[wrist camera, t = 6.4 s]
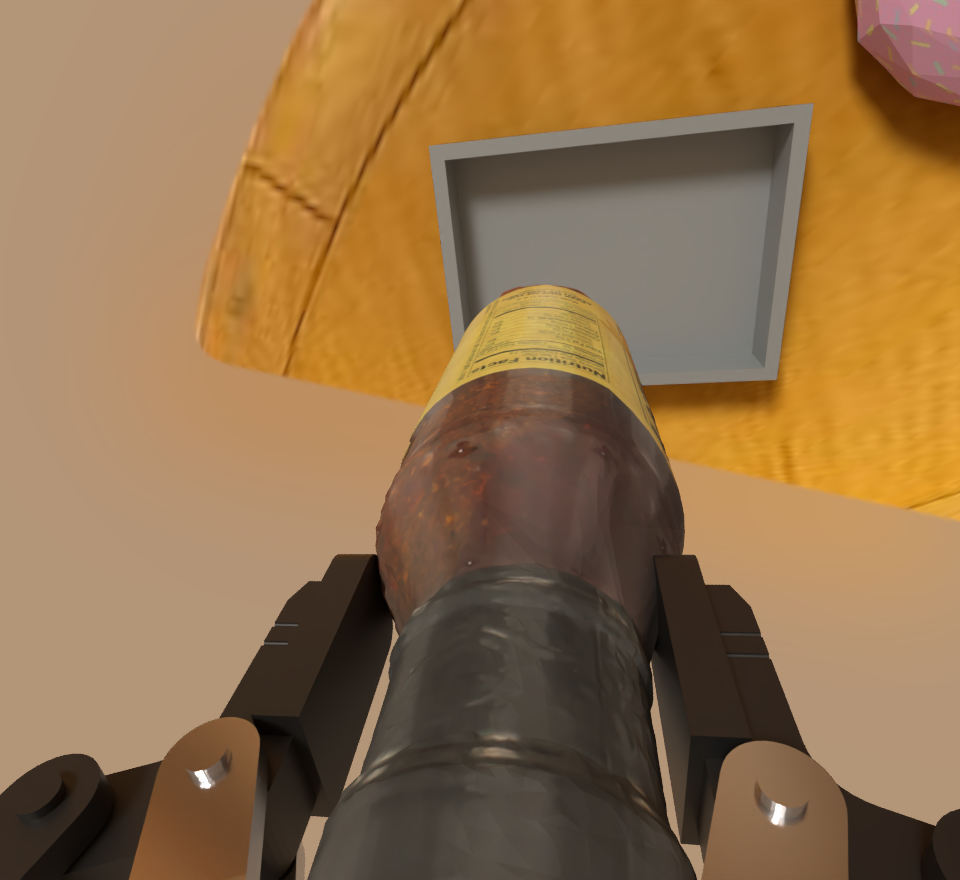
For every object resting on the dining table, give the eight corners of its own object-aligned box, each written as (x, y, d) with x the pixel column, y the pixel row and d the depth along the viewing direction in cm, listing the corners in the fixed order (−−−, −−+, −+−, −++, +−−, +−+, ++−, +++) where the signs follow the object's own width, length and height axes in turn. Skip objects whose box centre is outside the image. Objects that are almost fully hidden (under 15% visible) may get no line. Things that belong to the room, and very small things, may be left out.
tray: (791, 105, 33) (813, 103, 30) (760, 360, 40) (776, 379, 37) (440, 144, 37) (428, 146, 33) (467, 374, 43) (459, 393, 40)
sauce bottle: (579, 450, 25) (610, 1230, 7) (440, 390, 24) (117, 1069, 7) (662, 308, 22) (1059, 1073, 4) (504, 236, 21) (213, 760, 4)
